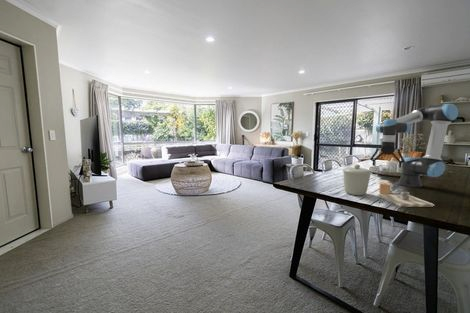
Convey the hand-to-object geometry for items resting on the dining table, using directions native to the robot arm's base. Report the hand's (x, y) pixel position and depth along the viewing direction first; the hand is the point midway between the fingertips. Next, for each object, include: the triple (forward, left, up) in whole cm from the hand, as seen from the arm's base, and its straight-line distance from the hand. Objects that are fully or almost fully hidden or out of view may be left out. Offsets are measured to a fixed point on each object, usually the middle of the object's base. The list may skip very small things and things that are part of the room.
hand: (385, 171), depth 157 cm
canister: (+22, +2, -16) cm, 27 cm away
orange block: (0, 0, -16) cm, 16 cm away
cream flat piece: (0, +19, -16) cm, 25 cm away
